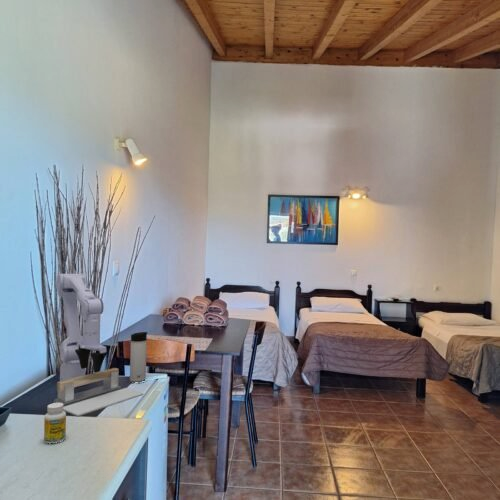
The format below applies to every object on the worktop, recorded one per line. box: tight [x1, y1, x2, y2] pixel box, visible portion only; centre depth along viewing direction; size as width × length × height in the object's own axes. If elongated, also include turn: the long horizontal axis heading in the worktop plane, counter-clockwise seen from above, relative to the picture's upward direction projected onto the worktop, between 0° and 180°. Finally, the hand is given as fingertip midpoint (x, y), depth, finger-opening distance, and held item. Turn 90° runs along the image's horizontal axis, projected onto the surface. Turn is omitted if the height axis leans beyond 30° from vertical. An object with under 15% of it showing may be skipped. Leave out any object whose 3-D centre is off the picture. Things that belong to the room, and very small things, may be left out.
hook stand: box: [53, 371, 122, 407], centre depth 146 cm, size 6×23×7 cm, turn 145°
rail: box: [56, 367, 120, 391], centre depth 146 cm, size 2×23×2 cm, turn 145°
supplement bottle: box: [43, 402, 67, 445], centre depth 111 cm, size 5×5×10 cm
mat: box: [63, 387, 144, 417], centre depth 141 cm, size 10×26×1 cm, turn 145°
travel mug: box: [129, 331, 148, 384], centre depth 164 cm, size 6×7×20 cm
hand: (90, 370), depth 146 cm, fingers open, 7 cm apart
